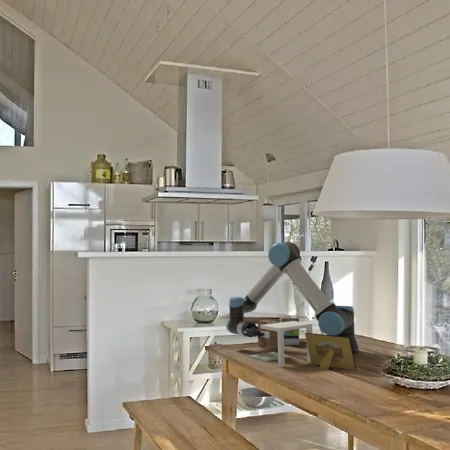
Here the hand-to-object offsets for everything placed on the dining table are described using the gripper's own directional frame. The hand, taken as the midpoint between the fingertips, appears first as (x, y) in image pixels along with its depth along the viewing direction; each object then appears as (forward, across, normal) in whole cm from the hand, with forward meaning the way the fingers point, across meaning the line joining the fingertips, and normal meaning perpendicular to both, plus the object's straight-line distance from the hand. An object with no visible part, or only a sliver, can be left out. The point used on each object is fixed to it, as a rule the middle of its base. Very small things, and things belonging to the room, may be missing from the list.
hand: (274, 334), depth 295 cm
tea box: (-31, -33, -12) cm, 47 cm away
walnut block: (-5, 0, -7) cm, 9 cm away
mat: (-5, 0, -12) cm, 13 cm away
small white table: (+9, 0, -12) cm, 15 cm away
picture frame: (+32, -6, -12) cm, 34 cm away
